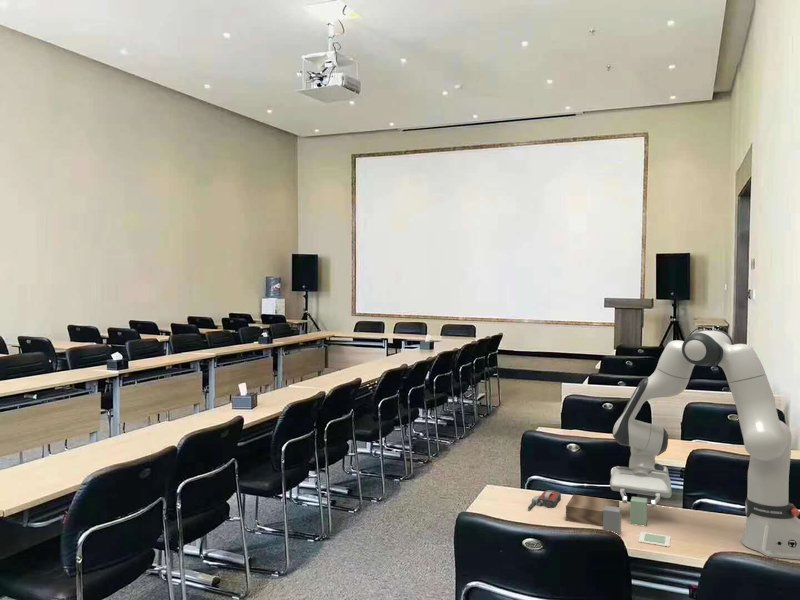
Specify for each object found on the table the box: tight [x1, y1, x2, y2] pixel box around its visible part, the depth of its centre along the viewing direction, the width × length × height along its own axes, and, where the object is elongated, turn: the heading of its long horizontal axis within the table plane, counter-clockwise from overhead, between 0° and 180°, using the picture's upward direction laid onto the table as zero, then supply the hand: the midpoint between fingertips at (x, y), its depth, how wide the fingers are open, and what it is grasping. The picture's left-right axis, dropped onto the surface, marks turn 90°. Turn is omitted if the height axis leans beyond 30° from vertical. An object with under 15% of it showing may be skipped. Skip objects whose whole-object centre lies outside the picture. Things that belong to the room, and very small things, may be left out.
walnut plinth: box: [565, 494, 620, 527], centre depth 221 cm, size 16×14×5 cm
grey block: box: [602, 505, 622, 536], centre depth 207 cm, size 5×5×8 cm
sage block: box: [629, 496, 648, 527], centre depth 217 cm, size 5×5×8 cm
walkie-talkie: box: [527, 490, 562, 510], centre depth 236 cm, size 9×4×20 cm
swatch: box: [638, 531, 672, 548], centre depth 202 cm, size 9×9×1 cm
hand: (639, 504), depth 217 cm, fingers open, 8 cm apart
